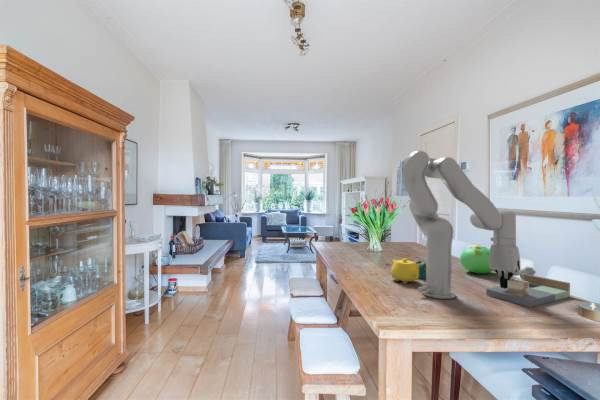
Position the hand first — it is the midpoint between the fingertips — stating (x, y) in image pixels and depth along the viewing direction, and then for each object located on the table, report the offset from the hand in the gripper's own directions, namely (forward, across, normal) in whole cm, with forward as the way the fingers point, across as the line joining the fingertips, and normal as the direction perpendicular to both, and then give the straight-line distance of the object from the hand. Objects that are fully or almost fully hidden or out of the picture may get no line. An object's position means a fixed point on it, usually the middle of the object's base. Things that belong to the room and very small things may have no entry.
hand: (504, 287), depth 123 cm
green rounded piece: (+4, -29, +29) cm, 42 cm away
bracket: (+4, -38, +1) cm, 38 cm away
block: (+1, +5, 0) cm, 5 cm away
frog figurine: (+4, -9, +34) cm, 35 cm away
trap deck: (+4, +3, +10) cm, 11 cm away
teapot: (+4, -35, -18) cm, 39 cm away
